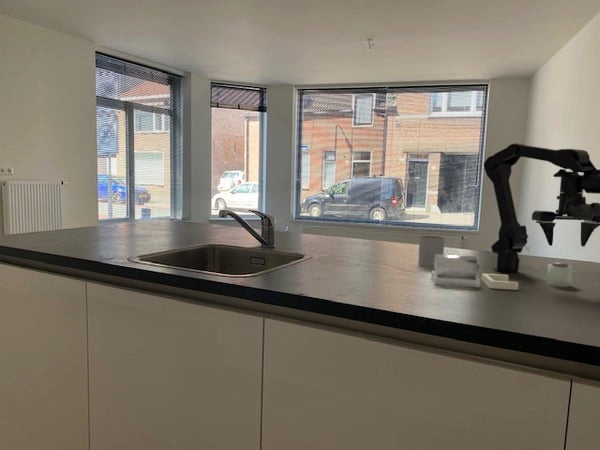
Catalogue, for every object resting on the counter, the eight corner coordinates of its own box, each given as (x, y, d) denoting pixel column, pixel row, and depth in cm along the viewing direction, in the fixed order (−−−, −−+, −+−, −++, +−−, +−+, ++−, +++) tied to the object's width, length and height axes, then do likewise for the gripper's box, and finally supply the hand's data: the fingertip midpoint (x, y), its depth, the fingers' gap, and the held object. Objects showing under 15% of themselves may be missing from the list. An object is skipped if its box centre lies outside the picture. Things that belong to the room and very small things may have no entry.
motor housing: (435, 284, 120) (436, 257, 119) (431, 277, 130) (432, 251, 129) (481, 287, 118) (483, 259, 117) (473, 279, 127) (475, 253, 126)
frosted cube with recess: (551, 286, 120) (552, 264, 120) (543, 281, 126) (545, 260, 126) (574, 287, 119) (576, 265, 119) (565, 282, 125) (567, 261, 124)
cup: (442, 263, 152) (444, 236, 151) (442, 267, 145) (444, 239, 144) (419, 261, 155) (420, 235, 154) (417, 265, 147) (418, 237, 146)
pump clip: (490, 288, 117) (490, 281, 117) (481, 279, 127) (482, 273, 127) (517, 289, 116) (518, 282, 115) (507, 281, 126) (507, 274, 125)
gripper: (552, 193, 114) (548, 249, 116) (624, 194, 113) (618, 251, 114) (532, 192, 125) (529, 243, 127) (597, 193, 124) (593, 245, 125)
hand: (566, 245), depth 123 cm, fingers open, 9 cm apart
